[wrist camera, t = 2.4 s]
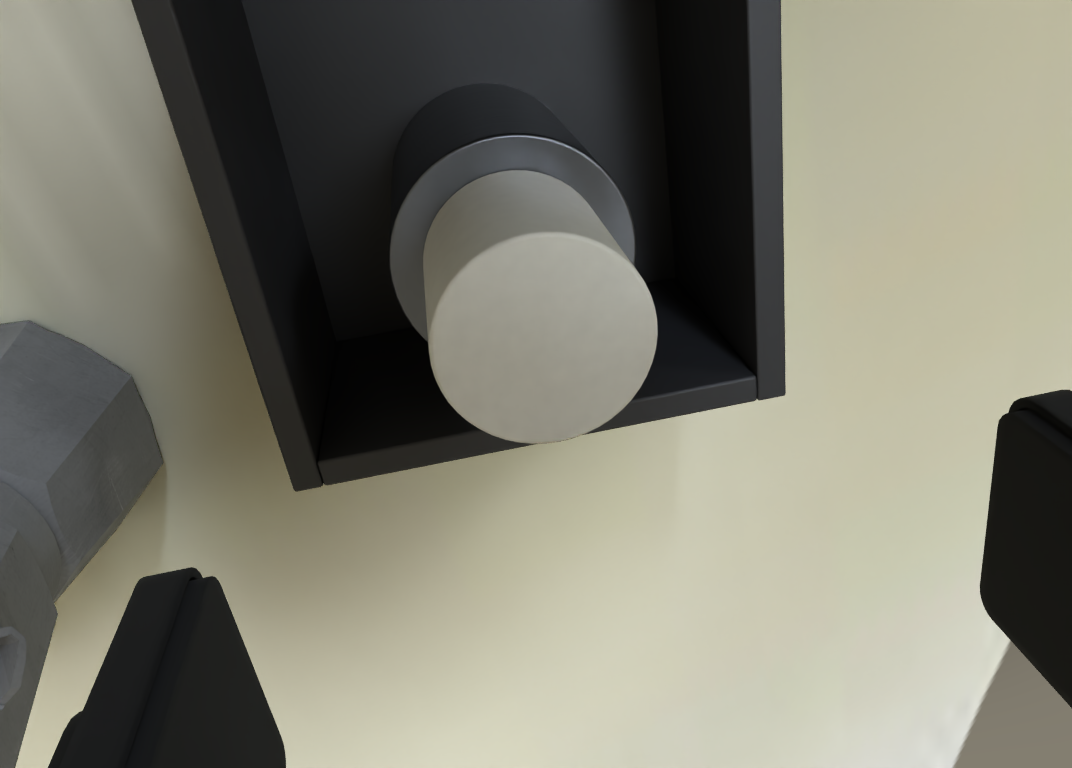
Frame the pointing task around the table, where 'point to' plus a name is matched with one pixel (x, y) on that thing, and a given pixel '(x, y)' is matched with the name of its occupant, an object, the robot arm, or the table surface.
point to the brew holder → (483, 172)
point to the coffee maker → (366, 181)
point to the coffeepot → (57, 492)
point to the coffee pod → (533, 310)
